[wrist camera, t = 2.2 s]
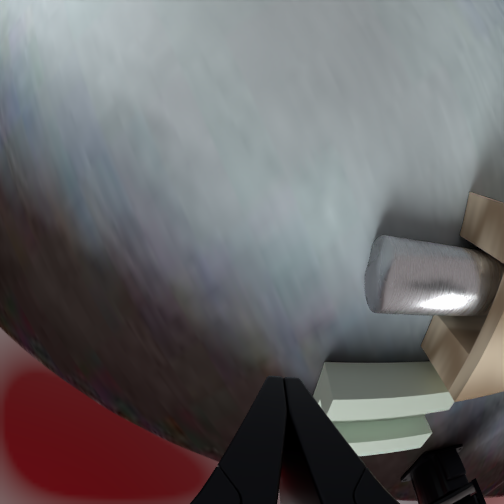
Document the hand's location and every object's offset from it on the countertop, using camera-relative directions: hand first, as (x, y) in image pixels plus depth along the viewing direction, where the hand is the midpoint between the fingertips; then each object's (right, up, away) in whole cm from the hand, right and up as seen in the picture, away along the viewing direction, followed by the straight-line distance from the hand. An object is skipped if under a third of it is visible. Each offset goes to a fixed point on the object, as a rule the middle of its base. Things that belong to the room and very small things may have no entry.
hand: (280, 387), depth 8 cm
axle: (+14, +2, +9) cm, 17 cm away
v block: (+9, -7, +13) cm, 17 cm away
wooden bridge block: (+15, +2, +9) cm, 17 cm away
